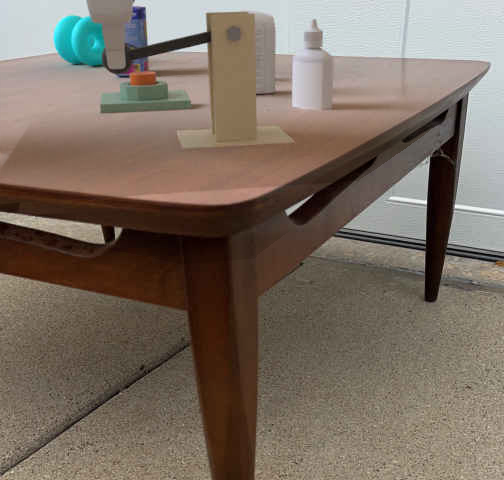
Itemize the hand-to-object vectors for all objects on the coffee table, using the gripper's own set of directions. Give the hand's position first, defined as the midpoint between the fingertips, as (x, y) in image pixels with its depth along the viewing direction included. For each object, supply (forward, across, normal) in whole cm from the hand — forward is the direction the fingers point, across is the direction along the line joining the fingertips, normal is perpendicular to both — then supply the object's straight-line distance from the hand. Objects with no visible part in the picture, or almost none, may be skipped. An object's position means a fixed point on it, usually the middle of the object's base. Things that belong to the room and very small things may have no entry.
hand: (117, 65), depth 71 cm
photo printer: (+9, -36, +19) cm, 42 cm away
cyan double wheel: (+10, -86, -8) cm, 87 cm away
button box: (+9, -24, +3) cm, 26 cm away
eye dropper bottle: (+9, -16, +25) cm, 31 cm away
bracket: (+9, 0, +12) cm, 15 cm away
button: (+5, -24, +3) cm, 25 cm away
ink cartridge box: (+9, -67, +2) cm, 68 cm away
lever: (0, 0, +6) cm, 6 cm away
